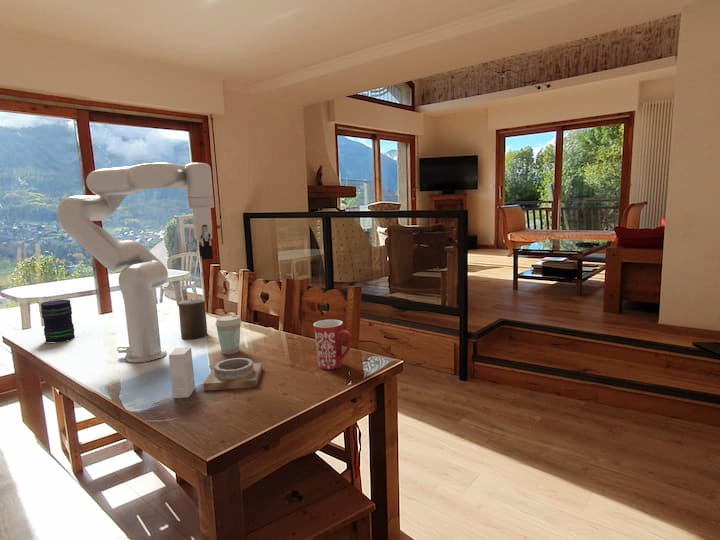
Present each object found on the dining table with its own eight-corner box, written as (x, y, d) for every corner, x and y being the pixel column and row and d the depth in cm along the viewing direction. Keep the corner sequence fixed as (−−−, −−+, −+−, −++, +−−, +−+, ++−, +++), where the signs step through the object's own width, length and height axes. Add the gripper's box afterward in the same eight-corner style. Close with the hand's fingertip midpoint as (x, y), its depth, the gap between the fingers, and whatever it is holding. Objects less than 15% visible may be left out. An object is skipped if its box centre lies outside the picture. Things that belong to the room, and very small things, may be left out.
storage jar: (56, 344, 171) (51, 305, 169) (39, 342, 175) (33, 304, 172) (81, 336, 180) (76, 300, 178) (64, 334, 184) (59, 298, 182)
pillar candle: (202, 339, 172) (199, 300, 170) (176, 339, 172) (173, 300, 170) (211, 332, 181) (208, 295, 179) (187, 332, 182) (184, 295, 180)
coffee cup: (236, 356, 151) (233, 321, 149) (212, 355, 152) (210, 320, 151) (247, 348, 159) (245, 314, 157) (225, 347, 161) (222, 314, 159)
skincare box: (179, 389, 124) (175, 347, 123) (195, 388, 125) (191, 346, 123) (172, 398, 118) (168, 354, 117) (189, 397, 119) (185, 353, 117)
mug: (309, 367, 138) (307, 324, 136) (327, 358, 145) (325, 317, 143) (342, 375, 131) (341, 330, 129) (360, 365, 138) (358, 322, 136)
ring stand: (204, 390, 123) (202, 374, 122) (215, 371, 137) (214, 357, 136) (256, 387, 124) (255, 371, 124) (262, 368, 138) (261, 354, 137)
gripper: (187, 204, 148) (192, 256, 151) (189, 203, 133) (195, 261, 135) (211, 203, 151) (216, 254, 154) (216, 202, 135) (221, 259, 138)
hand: (206, 257), depth 144 cm, fingers open, 9 cm apart
